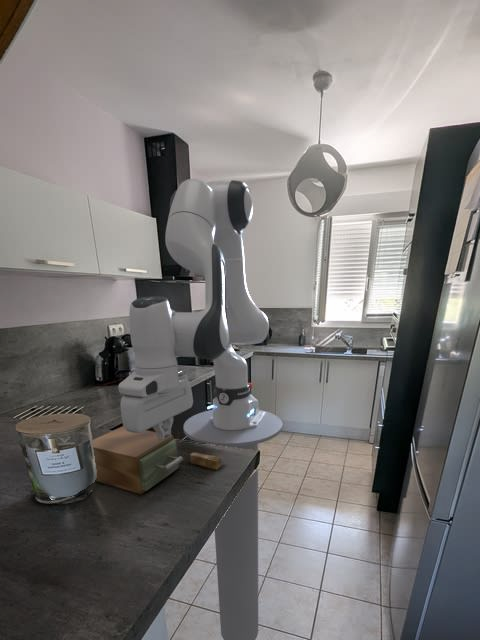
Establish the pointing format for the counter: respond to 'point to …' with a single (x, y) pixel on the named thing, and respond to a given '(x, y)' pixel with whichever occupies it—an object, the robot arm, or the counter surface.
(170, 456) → the drawer
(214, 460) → the yellowish brown block
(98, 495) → the counter surface
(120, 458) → the cabinet
